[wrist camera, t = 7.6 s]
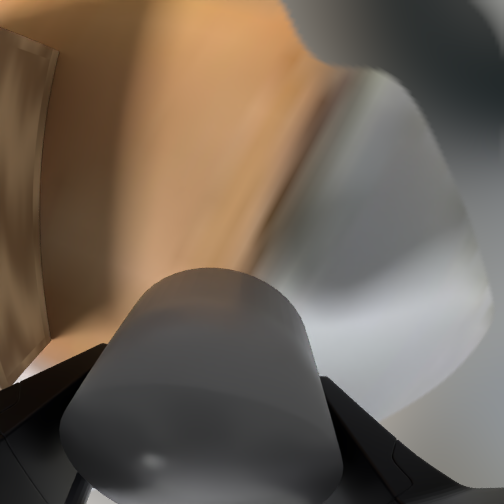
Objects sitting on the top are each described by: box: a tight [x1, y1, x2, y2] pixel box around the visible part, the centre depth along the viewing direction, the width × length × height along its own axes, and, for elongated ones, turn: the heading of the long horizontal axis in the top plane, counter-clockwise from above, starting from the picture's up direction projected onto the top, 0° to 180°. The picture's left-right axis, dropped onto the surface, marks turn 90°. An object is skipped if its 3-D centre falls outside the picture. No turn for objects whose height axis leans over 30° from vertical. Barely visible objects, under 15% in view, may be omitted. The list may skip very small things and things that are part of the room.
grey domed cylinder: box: [59, 268, 343, 504], centre depth 7 cm, size 6×6×5 cm
